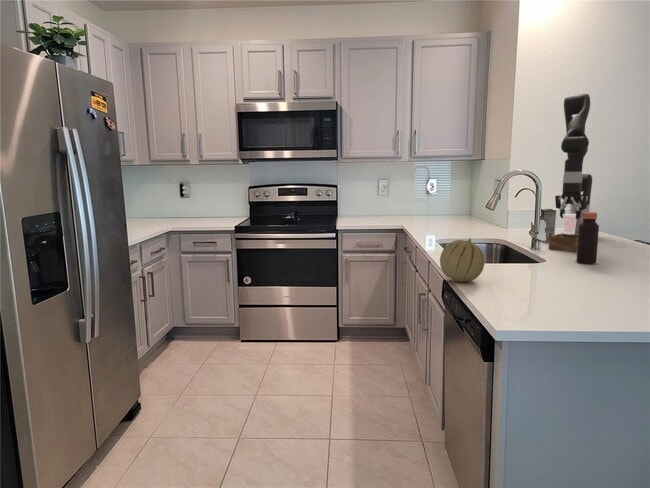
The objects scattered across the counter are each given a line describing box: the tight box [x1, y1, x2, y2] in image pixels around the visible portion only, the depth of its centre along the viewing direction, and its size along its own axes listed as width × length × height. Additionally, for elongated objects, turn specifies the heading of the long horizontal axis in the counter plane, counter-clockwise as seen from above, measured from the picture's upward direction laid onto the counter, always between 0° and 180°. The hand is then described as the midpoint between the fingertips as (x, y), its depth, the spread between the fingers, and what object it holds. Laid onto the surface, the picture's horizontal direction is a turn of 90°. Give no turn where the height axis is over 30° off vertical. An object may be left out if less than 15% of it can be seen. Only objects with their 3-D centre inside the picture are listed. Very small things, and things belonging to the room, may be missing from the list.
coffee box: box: [540, 208, 557, 243], centre depth 224 cm, size 9×6×16 cm
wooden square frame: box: [548, 233, 578, 253], centre depth 201 cm, size 12×12×6 cm
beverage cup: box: [562, 204, 577, 234], centre depth 199 cm, size 6×6×14 cm
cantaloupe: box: [439, 238, 485, 283], centre depth 149 cm, size 15×15×15 cm
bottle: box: [575, 211, 600, 265], centre depth 171 cm, size 7×7×20 cm
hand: (570, 218), depth 199 cm, fingers closed on beverage cup, 6 cm apart
